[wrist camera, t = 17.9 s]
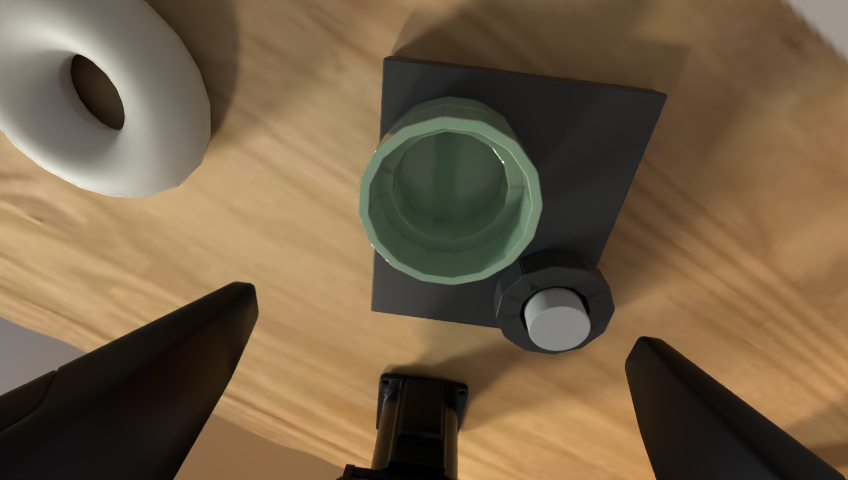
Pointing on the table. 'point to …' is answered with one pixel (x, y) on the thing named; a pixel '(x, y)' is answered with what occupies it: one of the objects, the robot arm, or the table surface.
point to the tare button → (556, 319)
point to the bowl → (450, 193)
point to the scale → (559, 181)
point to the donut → (129, 72)
